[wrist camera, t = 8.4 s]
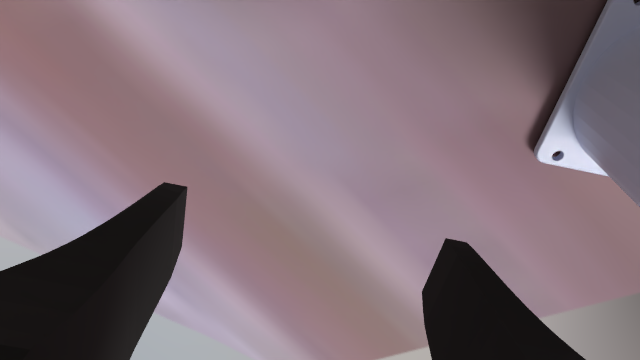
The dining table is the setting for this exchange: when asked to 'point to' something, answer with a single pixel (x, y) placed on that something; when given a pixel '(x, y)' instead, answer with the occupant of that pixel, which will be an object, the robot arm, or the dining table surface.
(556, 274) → the dining table surface
